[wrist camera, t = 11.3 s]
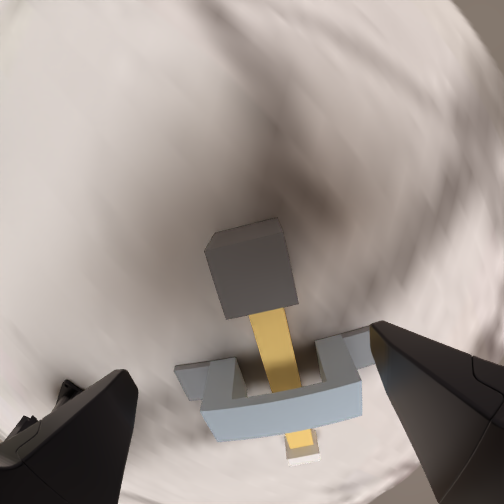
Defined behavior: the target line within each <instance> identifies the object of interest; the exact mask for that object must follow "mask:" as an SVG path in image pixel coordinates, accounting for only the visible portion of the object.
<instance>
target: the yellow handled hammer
mask: <svg viewBox="0 0 504 504" xmlns="http://www.w3.org/2000/svg"><path fill="white" fill-rule="evenodd" d="M204 252H205V255H206V258H207V262H208V265H209V268H210V271H211V275H212V278H213V281H214V284H215V287H216V290H217V293H218V296H219V300H220V303H221V306H222V309H223V312H224V315H225V318H226V320H227V319H232V318H237V317H242V316H247V315H249V318H250V322H251V325H252V329H253V332H254V335H255V339H256V342H257V345H258V349H259V352H260V355H261V358H262V362H263V365H264V368H265V371H266V375H267V378H268V381H269V384H270V388H271V391H272V393H275V392H281V391H286V390H291V389H295V388H300V387H302V386H301V381H300V377H299V372H298V368H297V363H296V359H295V354H294V350H293V345H292V341H291V336H290V332H289V328H288V323H287V319H286V315H285V310H284V307H288V306H292V305H296V304H299V302H298V297H297V293H296V288H295V283H294V278H293V274H292V269H291V265H290V260H289V256H288V251H287V247H286V242H285V238H284V233H283V230H282V228H281V225H280V223H279V221H278V218H274V219H269V220H265V221H261V222H257V223H253V224H249V225H245V226H241V227H237V228H233V229H229V230H225V231H221V232H217V233H215V234H214V235H213V237H212V239H211V240H210V242H209V244H208V245H207V247H206V249H205V250H204ZM285 435H286V436H285V445H286V456H287V462H288V464H289V467H290V466H296V465H301V464H306V463H311V462H316V461H321V458H320V452H319V447H318V442H317V437H316V431H315V430H313V431H311V429H307V430H302V431H297V432H292V433H286V434H285Z"/></svg>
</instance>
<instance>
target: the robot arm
mask: <svg viewBox="0 0 504 504" xmlns="http://www.w3.org/2000/svg"><path fill="white" fill-rule="evenodd" d="M369 331H370V349H371V353H372V356H373V358H374V361H375V364H376V366H377V369H378V372H379V374H380V377H381V380H382V383H383V385H384V388H385V391H386V393H387V395H388V397H389V400H390V401H391V403H392V405H393V407H394V409H395V411H396V413H397V415H398V417H399V419H400V421H401V423H402V425H403V427H404V429H405V432H406V434H407V436H408V438H409V440H410V442H411V444H412V446H413V448H414V450H415V452H416V455H417V457H418V459H419V461H420V463H421V465H422V468H423V470H424V472H425V474H426V476H427V479H428V481H429V483H430V485H431V488H432V490H433V492H434V495H435V497H436V499H437V502H438V503H439V504H504V366H502V365H498V364H496V363H493V362H490V361H487V360H484V359H481V358H479V357H476V356H471V355H470V354H468V353H465V352H463V351H460V350H457V349H455V348H452V347H450V346H447V345H444V344H442V343H439V342H437V341H434V340H431V339H429V338H426V337H424V336H421V335H419V334H416V333H414V332H411V331H408V330H406V329H403V328H401V327H398V326H396V325H393V324H391V323H388V322H386V321H378V322H375V323H372V324H371V325H370V327H369ZM137 400H138V388H137V386H136V384H135V383H134V381H133V379H132V378H131V376H130V374H129V372H128V371H127V370H125V369H120V370H114V371H113V372H111V373H110V374H108V375H107V376H105V377H104V378H102V379H101V380H99V381H98V382H96V383H95V384H93V385H92V386H90V387H89V388H88V389H86V390H85V391H82V390H80V389H79V388H77V387H76V386H75V385H73V384H72V383H71V382H69V381H68V380H65V381H64V382H63V383H62V387H61V390H60V393H59V396H58V399H57V403H56V406H55V407H54V409H53V410H52V412H51V413H50V414H49V415H47V416H46V417H44V418H43V419H42V420H39V421H38V420H37V419H36V418H35V417H34V416H33V415H32V417H31V418H28V417H26V416H23V417H22V419H21V420H20V421H19V423H18V424H17V425H16V427H15V428H14V429H13V431H12V432H11V433H10V434H9V436H8V437H7V438H6V439H5V441H4V442H2V443H0V504H118V500H119V495H120V489H121V484H122V479H123V474H124V469H125V465H126V460H127V456H128V451H129V447H130V442H131V438H132V434H133V428H134V422H135V414H136V407H137Z"/></svg>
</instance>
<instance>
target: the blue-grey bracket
mask: <svg viewBox="0 0 504 504" xmlns="http://www.w3.org/2000/svg"><path fill="white" fill-rule="evenodd" d="M369 327H370V326H367V327H364V328H361V329H357V330H354V331H350V332H346V333H343V334H339V335H335V336H332V337H328V338H324V339H320V340H316V341H315V346H316V352H317V358H318V364H319V370H320V375H321V379H322V383H317V384H313V385H309V386H305V387H300V388H295V389H291V390H286V391H281V392H275V393H270V394H264V395H258V396H252V397H247V387H246V384H245V381H244V379H243V376H242V373H241V371H240V368H239V365H238V362H237V359H236V357H234V358H228V359H222V360H216V361H209V362H202V363H195V364H187V365H179V366H175V368H174V372H175V374H176V376H177V378H178V380H179V382H180V384H181V386H182V388H183V390H184V392H185V394H186V395H187V397H188V399H189V401H194V400H202V404H201V409H200V413H201V414H202V416H203V418H204V420H205V421H206V423H207V425H208V427H209V428H210V430H211V432H212V434H213V435H214V437H215V439H216V440H217V442H224V441H235V440H245V439H253V438H261V437H268V436H274V435H280V434H286V433H292V432H297V431H302V430H307V429H312V428H316V427H320V426H325V425H329V424H333V423H337V422H341V421H344V420H348V419H351V418H355V417H358V416H362V380H361V378H360V376H359V373H358V371H357V369H361V368H364V367H367V366H370V365H374V364H375V361H374V358H373V356H372V353H371V349H370V331H369Z"/></svg>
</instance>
